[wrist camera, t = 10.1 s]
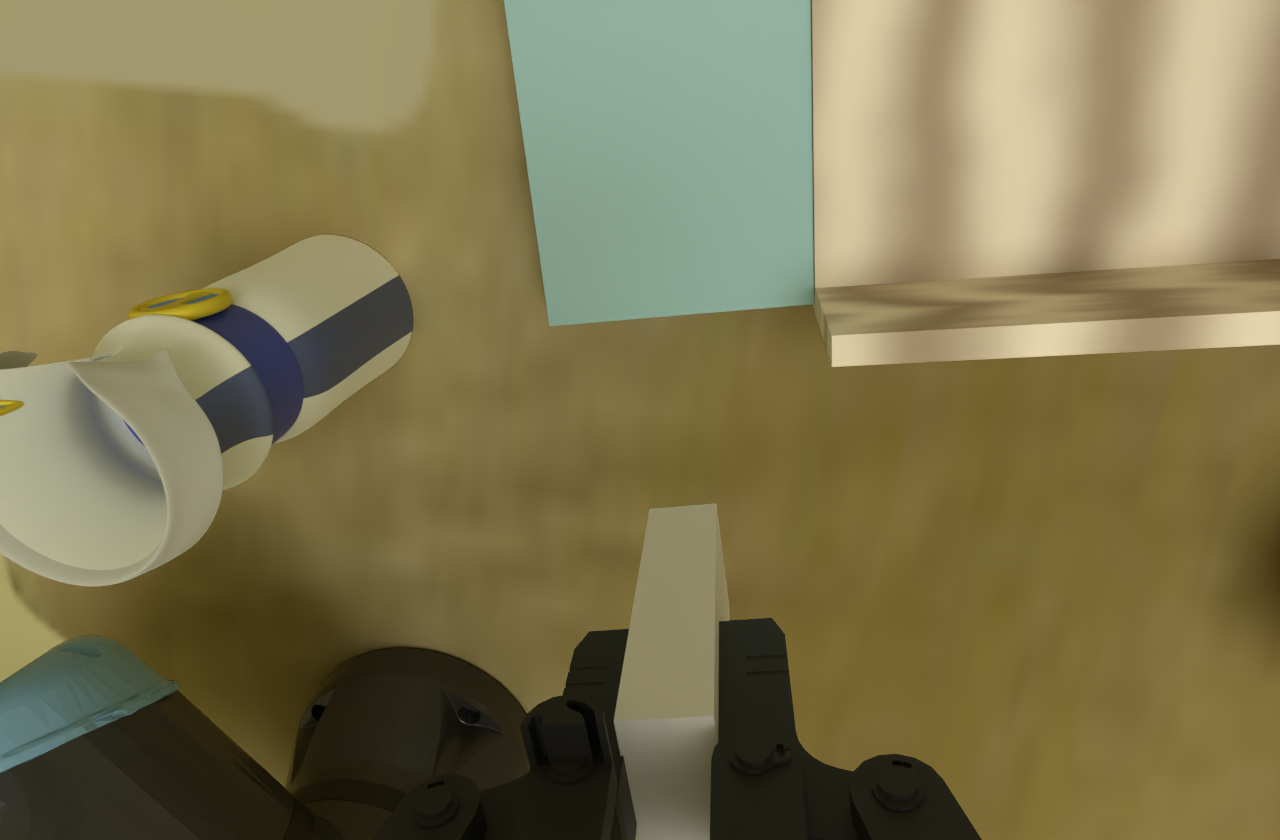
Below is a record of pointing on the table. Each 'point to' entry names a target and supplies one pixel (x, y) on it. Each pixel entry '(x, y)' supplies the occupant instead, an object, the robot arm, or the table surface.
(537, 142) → the teal flat panel
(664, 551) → the robot arm
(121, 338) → the blue-banded white tube
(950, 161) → the crate
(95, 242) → the table surface
